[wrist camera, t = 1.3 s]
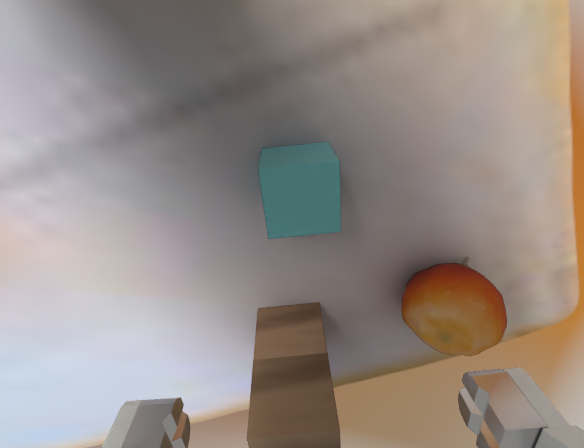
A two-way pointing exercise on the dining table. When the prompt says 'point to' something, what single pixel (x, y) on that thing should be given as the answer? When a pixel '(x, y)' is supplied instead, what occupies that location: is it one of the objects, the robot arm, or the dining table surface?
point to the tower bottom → (289, 331)
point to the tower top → (293, 404)
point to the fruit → (454, 309)
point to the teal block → (300, 189)
